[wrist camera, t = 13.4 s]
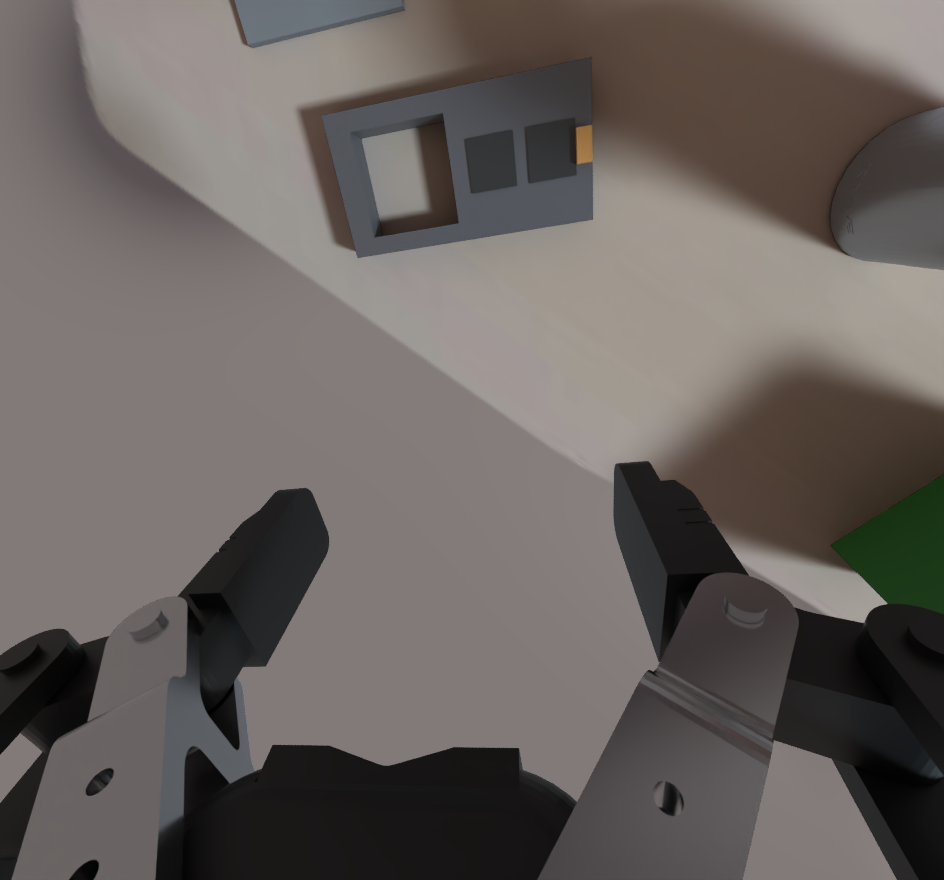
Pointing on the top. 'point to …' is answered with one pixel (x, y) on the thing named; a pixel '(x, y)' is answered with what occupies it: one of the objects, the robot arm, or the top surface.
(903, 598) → the green box
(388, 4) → the charging mat
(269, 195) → the top surface
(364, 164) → the gray slotted block
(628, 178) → the top surface
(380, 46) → the top surface
